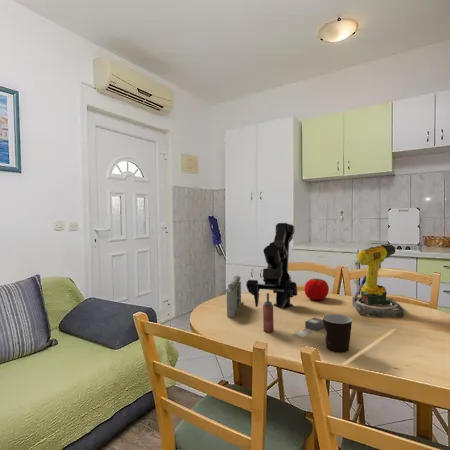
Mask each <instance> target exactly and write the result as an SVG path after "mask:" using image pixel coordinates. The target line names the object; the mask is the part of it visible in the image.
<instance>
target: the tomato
mask: <svg viewBox="0 0 450 450" xmlns="http://www.w3.org/2000/svg"><path fill="white" fill-rule="evenodd" d="M303 290H304V294H305V296H306V298H308V299H310V300H312V301H314V300H315V301H323V300H324V299H326V298H327V296H328V295H329V292H330V291H329V290H330V287H329V285H328V282H327V281H326V280H325V279H322V278H310V279H309V280H307V281H306V282H305V285H304V289H303Z"/></svg>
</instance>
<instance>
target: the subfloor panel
mask: <svg viewBox="0 0 450 450" xmlns="http://www.w3.org/2000/svg"><path fill="white" fill-rule="evenodd" d="M314 332H315V331H314V330H310V329H307V328H304V329H301V330H299V331H297V332H295V333H293V334H292V336H295V337H297V338H301V339H302V338H304V337H306V336H308V335H309V334H312V333H314Z"/></svg>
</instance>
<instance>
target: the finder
mask: <svg viewBox="0 0 450 450" xmlns="http://www.w3.org/2000/svg"><path fill="white" fill-rule="evenodd" d="M304 325H305V326H304V327H305V328H304V329H306V328H307V329H310V330H314V332H317V331H319V330H321V329H324V324H323V318H322V319H321V318H318V317H312V318H310V319H308V320H305V324H304Z"/></svg>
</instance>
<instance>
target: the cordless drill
mask: <svg viewBox="0 0 450 450" xmlns="http://www.w3.org/2000/svg"><path fill="white" fill-rule="evenodd" d="M395 253H396V247H395V246H394V245H392V244H387V245H385V244H381V245H376V246H374V247H373V246H371V247H369V248H367V249H361V250H360V251H359V252H358V253H357V255H356V258H357V261H358V262H359V264H360V265H361V266H367V269H366V274H365V275H364V276H363V279H362V280H361V283H360V285H359V286H358V288H357V289H356V292H355V293H354V295H353V297H352V300H351V301H352V307H354V308H355V310H356V312H358V314H359V315H362V316H363V315H364V316H365V315H369V317H375V318H385V317H387V316H390V317H392V316H393V317H397V318H402V317H403V318H404V315H405V310H404V308H403V306H402V305H400V304H399V303H398V302H397V301H396V300H395V299H393V298H389V297H387V289H386V287H385V286H383V285H380V284H378V273H379V270H380V269H381V268H382V267H381V265H382V263H383V262H385V259H386V258H389V257H390V256H392V255H394V254H395ZM359 294H360V295H361V296H359ZM379 305H382V306H379ZM392 305H393V306H392Z"/></svg>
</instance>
